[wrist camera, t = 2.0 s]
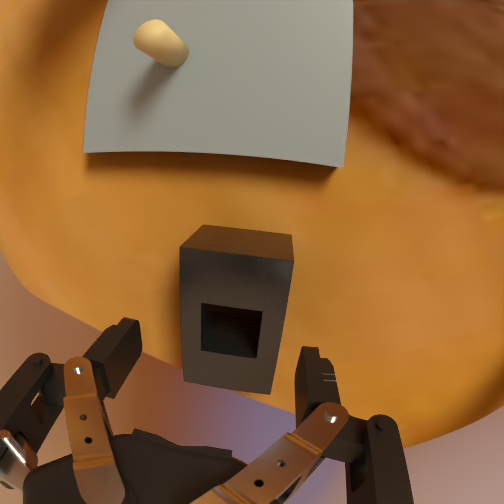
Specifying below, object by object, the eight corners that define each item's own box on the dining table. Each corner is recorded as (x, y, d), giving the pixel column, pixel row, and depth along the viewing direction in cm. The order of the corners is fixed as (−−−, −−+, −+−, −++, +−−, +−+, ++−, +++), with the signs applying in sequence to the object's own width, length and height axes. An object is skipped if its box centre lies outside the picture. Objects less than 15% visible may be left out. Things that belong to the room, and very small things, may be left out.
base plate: (348, -3, 12) (365, -42, 7) (337, 166, 16) (359, 172, 11) (118, 2, 13) (83, -23, 8) (95, 151, 17) (48, 156, 12)
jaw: (203, 224, 18) (179, 246, 14) (291, 234, 18) (294, 260, 14) (200, 341, 21) (183, 381, 17) (273, 351, 21) (270, 394, 17)
